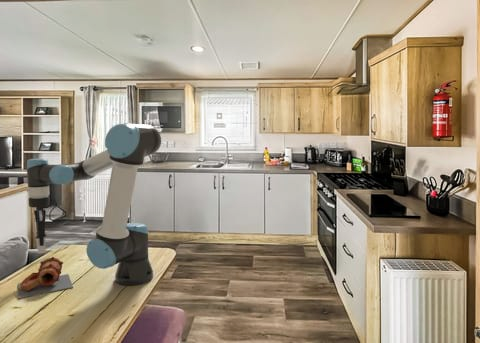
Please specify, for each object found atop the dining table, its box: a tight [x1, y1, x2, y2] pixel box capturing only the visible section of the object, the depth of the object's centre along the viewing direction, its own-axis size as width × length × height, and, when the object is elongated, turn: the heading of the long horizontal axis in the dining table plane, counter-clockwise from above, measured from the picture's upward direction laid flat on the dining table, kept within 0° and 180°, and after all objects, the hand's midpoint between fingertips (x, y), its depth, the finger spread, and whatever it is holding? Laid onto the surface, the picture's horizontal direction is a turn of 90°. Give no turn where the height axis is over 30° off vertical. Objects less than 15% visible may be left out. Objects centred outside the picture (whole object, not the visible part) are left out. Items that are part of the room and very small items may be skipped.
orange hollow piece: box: [20, 256, 64, 291], centre depth 140 cm, size 15×8×15 cm
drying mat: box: [17, 273, 74, 300], centre depth 138 cm, size 15×18×1 cm
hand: (41, 252), depth 146 cm, fingers closed
